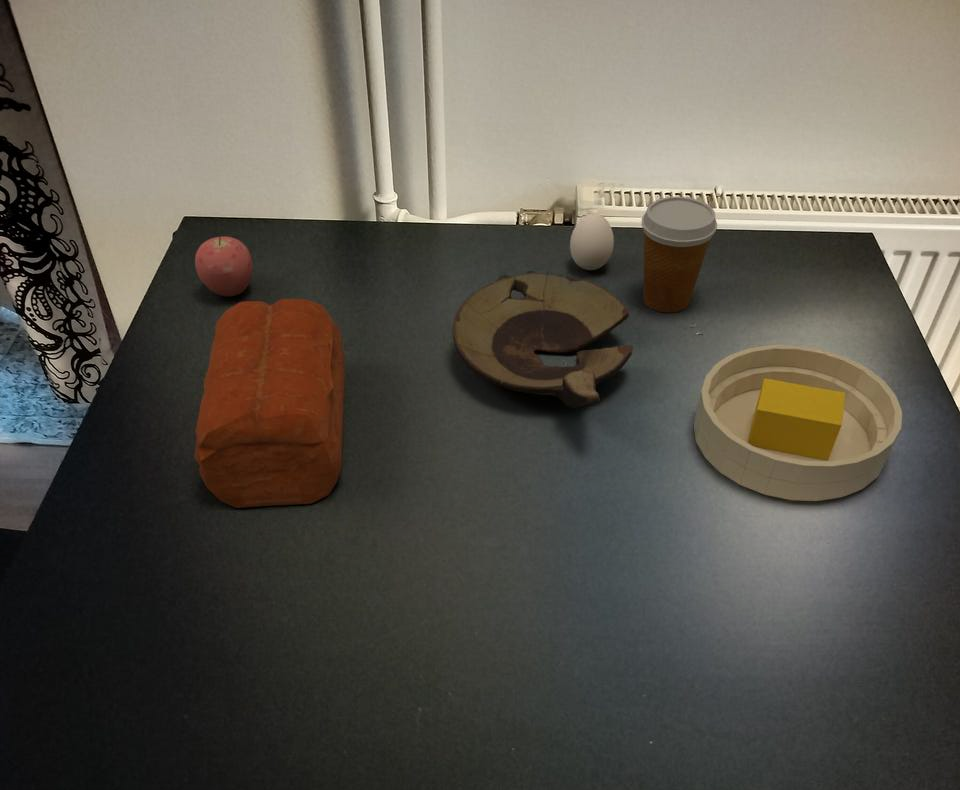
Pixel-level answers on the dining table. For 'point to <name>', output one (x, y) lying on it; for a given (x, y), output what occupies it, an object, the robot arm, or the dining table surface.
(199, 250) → the apple
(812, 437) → the sponge
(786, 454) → the bowl
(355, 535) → the dining table surface
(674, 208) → the disposable coffee cup
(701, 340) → the dining table surface
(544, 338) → the broken ceramic plate
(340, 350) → the bread
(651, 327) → the dining table surface
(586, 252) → the egg
